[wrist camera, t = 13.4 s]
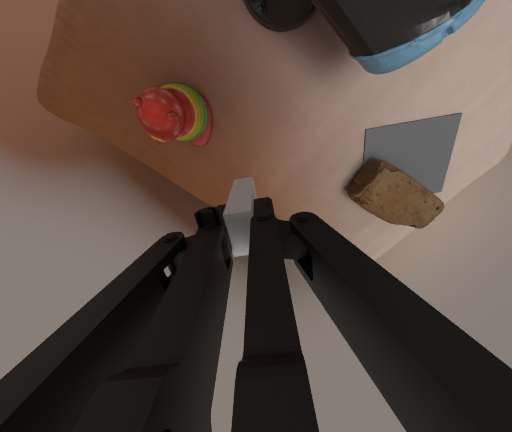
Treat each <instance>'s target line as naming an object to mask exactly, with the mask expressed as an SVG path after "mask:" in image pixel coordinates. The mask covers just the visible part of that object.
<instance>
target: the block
mask: <svg viewBox="0 0 512 432" xmlns="http://www.w3.org/2000/svg"><path fill="white" fill-rule="evenodd" d="M347 193H348V195H349V197H350V198H351V199H352V200H353V201H354V202H356V203H357V204H358V205H360V206H361V207H363V208H364V209H366V210H367V211H369V212H370V213H372V214H374V215H375V216H377V217H379V218H381V219H382V220H384V221H386V222H388V223H391V224H397V225H398V224H399V225H408V226H411V227H415V228H420V229H421V228H423V227H425V226H427V225H428V224H429V223H430V222H432V221H433V220H434V219H435V217H436V216H438V215H439V214H440V213H441V212H442V211H443V208H444V203H443V202H442V201H441V200H440V199H439V198H438V197H437V196H436V195H434V194H433V193H432V192H431V191H429V190H428V189H427V188H425V187H424V186H423V185H421V184H420V183H419V182H417V181H416V180H414V179H413V178H412V177H411V176H409V175H408V174H406V173H405V172H403V171H401V170H400V169H398V168H396V167H395V166H393V165H391V164H389V163H388V162H385V161H383V160H380V159H373V160H371V161H370V162H368V163H367V164H366V165H365V166H364V167H363V168H362V169H361V170H360V172H359V173H358V175H357V176H356V178H355V179H354V181H353V182H352V185H351V187H350V188H349V190H348V192H347Z"/></svg>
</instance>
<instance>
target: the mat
mask: <svg viewBox="0 0 512 432" xmlns="http://www.w3.org/2000/svg"><path fill="white" fill-rule="evenodd" d="M461 116H462V113H458V114H452V115H446V116H441V117H435V118H429V119H423V120H418V121H412V122H406V123H401V124H395V125H389V126H383V127H378V128H372V129H366V130H365V143H364V156H363V167H364V166H365V165H366V164H367V163H368V162H370V161H371V160H373V159H380V160H383V161H385V162H388V163H389V164H391V165H393V166H395V167H396V168H398V169H400V170H401V171H403V172H405V173H406V174H408V175H409V176H411V177H412V178H413V179H414V180H416V181H417V182H419V183H420V184H421V185H423V186H424V187H425V188H427V189H428V190H429V191H431V192H432V193H437V192H441V191H442V188H443V184H444V180H445V176H446V172H447V169H448V165H449V161H450V157H451V154H452V150H453V146H454V142H455V138H456V135H457V131H458V127H459V123H460V120H461Z"/></svg>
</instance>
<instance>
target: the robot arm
mask: <svg viewBox="0 0 512 432" xmlns="http://www.w3.org/2000/svg"><path fill="white" fill-rule="evenodd" d="M484 1H485V0H244V2H245V4H246V6H247V8H248V10H249V12H250V13H251V15H252V16H253V17H254V18H255V20H256V21H257V22H258V23H260V24H261V25H262V26H264V27H265V28H267V29H269V30H272V31H277V32H286V31H290V30H293V29H296V28H298V27H299V26H301V25H302V24H304V23H305V22H306V21H307V20H308V19H309V18H310V17H311V16H312V15H313V14H314V12H315V11H316V9H318V11H319V12H320V13H321V15H322V16H323V17H324V18H325V20H326V21H327V22H328V24H329V25H330V26H331V28H332V29H333V30H334V31H335V33H336V34H337V35H338V37H339V38H340V39H341V40H342V42H343V43H344V44H345V46H346V47H347V48H348V49H349V54H350V56H351V57H352V58H354V59H355V60H357V61H358V62H359V63H360V64H361V66H362V67H363V68H364V69H365V70H366V71H367V72H369V73H372V74H385V73H388V72H391V71H394V70H397V69H399V68H401V67H403V66H405V65H407V64H409V63H411V62H412V61H414V60H416V59H418V58H419V57H421V56H423V55H424V54H426V53H427V52H429V51H430V50H432V49H433V48H435V47H436V46H437V45H439V44H440V43H441V42H442V40H443V38H444V37H446V36H448V35H450V34H452V33H454V32H455V31H456V30H458V29H459V28H460V27H461V26H462V25H463V24H465V23H466V22H467V21H468V20H469V19H470V18H471V17H472V16H473V15H474V14H475V13H476V12H477V10H478V9H479V8H480V7H481V6H482V4H483V3H484ZM194 216H195V219H196V222H197V224H198V230H197V232H196V234H195V235H193V236H190V237H186V238H185V237H184V234H183V233H182V232H171V233H168V234H167V235H165V236H163V237H162V238H160V239H159V240H158V241H157V242H156V243H154V244H153V245H152V246H151V247H150V248H149V249H148V250H147V251H145V252H144V253H143V254H142V255H141V256H140V257H139V258H137V259H136V260H135V261H134V262H133V263H132V264H131V265H130V266H129V267H127V268H126V269H125V270H124V271H123V272H122V273H121V274H119V275H118V276H117V277H116V278H115V279H114V280H113V281H111V282H110V283H109V284H108V285H107V286H106V287H105V288H104V289H102V290H101V291H100V292H99V293H98V294H97V295H96V296H94V298H92V299H91V300H90V301H89V302H88V303H87V304H86V305H84V306H83V307H82V308H81V309H80V310H79V311H78V312H76V313H75V314H74V315H73V316H72V317H71V318H70V319H69V320H67V321H66V322H65V323H64V324H63V325H62V326H61V327H60V328H58V329H57V330H56V331H55V332H54V333H53V334H52V335H50V336H49V337H48V338H47V339H46V340H45V341H44V342H42V344H40V345H39V346H38V347H37V348H36V349H35V350H33V351H32V352H31V353H30V354H29V355H28V356H27V357H26V358H24V359H23V360H22V361H21V362H20V363H19V364H18V365H16V366H15V367H14V368H13V369H12V370H11V371H10V372H9V373H7V374H6V375H5V376H4V377H3V378H2V379H1V380H0V432H212V429H211V407H212V400H213V393H214V387H215V380H216V373H217V366H218V360H219V353H220V347H221V339H222V333H223V326H224V319H225V312H226V306H227V300H228V293H229V286H230V279H231V272H232V266H233V259H232V256H231V253H232V251H233V255H234V257H236V256H243V255H249V258H248V278H247V297H246V315H245V333H244V351H243V358H242V360H241V361H240V362H239V363H238V366H237V371H236V379H235V390H234V403H233V416H232V429H231V432H319V429H318V424H317V419H316V414H315V409H314V404H313V399H312V394H311V389H310V384H309V379H308V374H307V369H306V365H305V360H304V356H303V354H302V350H301V346H300V340H299V335H298V330H297V325H296V320H295V315H294V310H293V304H292V299H291V294H290V289H289V284H288V279H287V274H286V268H285V263H284V259H293V260H294V263H295V265H296V266H297V268H298V269H299V271H300V272H301V274H302V275H303V277H304V278H305V280H306V281H307V283H308V284H309V286H310V287H311V289H312V290H313V292H314V293H315V295H316V296H317V298H318V299H319V300H320V302H321V304H322V305H323V307H324V308H325V310H326V311H327V313H328V314H329V316H330V317H331V319H332V320H333V322H334V323H335V325H336V326H337V328H338V329H339V331H340V332H341V334H342V335H343V337H344V338H345V340H346V341H347V343H348V344H349V346H350V347H351V349H352V350H353V352H354V353H355V355H356V356H357V358H358V359H359V361H360V362H361V364H362V365H363V367H364V368H365V370H366V371H367V373H368V374H369V376H370V377H371V379H372V380H373V382H374V383H375V385H376V386H377V388H378V389H379V391H380V392H381V394H382V396H383V397H384V399H385V400H386V401H387V403H388V405H389V406H390V408H391V409H392V410H393V412H394V413H395V415H396V416H397V418H398V420H399V421H400V423H401V424H402V426H403V427H404V429H405V430H406V431H407V432H512V369H511V368H510V367H509V366H507V365H506V364H505V363H504V362H502V361H501V360H500V359H498V358H497V357H496V356H494V355H493V354H492V353H491V352H489V351H488V350H487V349H486V348H484V347H483V346H482V345H480V344H479V343H478V342H477V341H475V340H474V339H473V338H472V337H470V336H469V335H468V334H467V333H465V332H464V331H463V330H461V329H460V328H459V327H458V326H457V325H455V324H454V323H453V322H451V321H450V320H449V319H448V318H446V317H445V316H444V315H443V314H441V313H440V312H439V311H437V310H436V309H435V308H434V307H432V306H431V305H430V304H429V303H427V302H426V301H424V300H423V299H422V298H421V297H420V296H418V295H417V294H416V293H415V292H413V291H412V290H411V289H409V288H408V287H407V286H406V285H404V284H403V283H402V282H401V281H399V280H398V279H397V278H395V277H394V276H393V275H392V274H390V273H389V272H388V271H387V270H385V269H384V268H383V267H381V266H380V265H379V264H378V263H376V262H375V261H374V260H373V259H371V258H370V257H369V256H367V255H366V254H365V253H364V252H362V251H361V250H360V249H359V248H357V247H356V246H355V245H353V244H352V243H351V242H350V241H348V240H347V239H346V238H345V237H343V236H342V235H341V234H340V233H338V232H337V231H336V230H334V229H333V228H332V227H331V226H329V225H328V224H327V223H326V222H324V221H323V220H322V219H320V218H319V217H318V216H317V215H315V214H313V213H310V212H300V213H296V214H293V215H292V216H291V217H290V221H283V220H279V219H277V218H276V217H275V214H274V209H273V204H272V199H270V198H269V197H265V198H259V199H257V198H256V192H255V187H254V181H253V176H252V177H246V178H240V179H235V180H234V183H233V186H232V189H231V192H230V195H229V198H228V201H227V204H225V205H218V206H217V207H207V208H203V209H201V210H199V211H197V212H196V213H195V214H194ZM167 266H168V268H169V270H170V272H171V274H170V276H169V277H167V276H166V275H165V273H164V271H163V270H164V269H165V268H166V267H167Z"/></svg>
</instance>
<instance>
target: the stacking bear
mask: <svg viewBox="0 0 512 432" xmlns="http://www.w3.org/2000/svg"><path fill="white" fill-rule="evenodd" d="M131 103H132V104H134V105H136V106H137V108H136V112H137V116H138V119H139V121H140V123H141V125H142V127H143V128H144V130H145V131H146V132H147V133H148V134H149V135H150V136H151V137H152V138H154V139H155V140H157V141H159V142H169V141H172V140H174V139H176V140H180V141H188V140H190V141H191V142H192V143H193V144H194V145H197V146H199V147H201V146H205V145H206V144H207V143H208V141H209V139H210V136H211V133H212V127H213V117H212V111H211V107H210V105H209V103H208V101H207V100H206V99H205V97H204V96H203V95H201V94H200V93H198V92H197V91H195V90H193V89H192V88H190V87H188V86H186V85H183V84H178V83H171V84H167V85H163V86H161V87H150V88H148V89H146V90H144V91H143V92H142V93H141V94H140V96H139V97H134V98H132V100H131Z"/></svg>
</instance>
